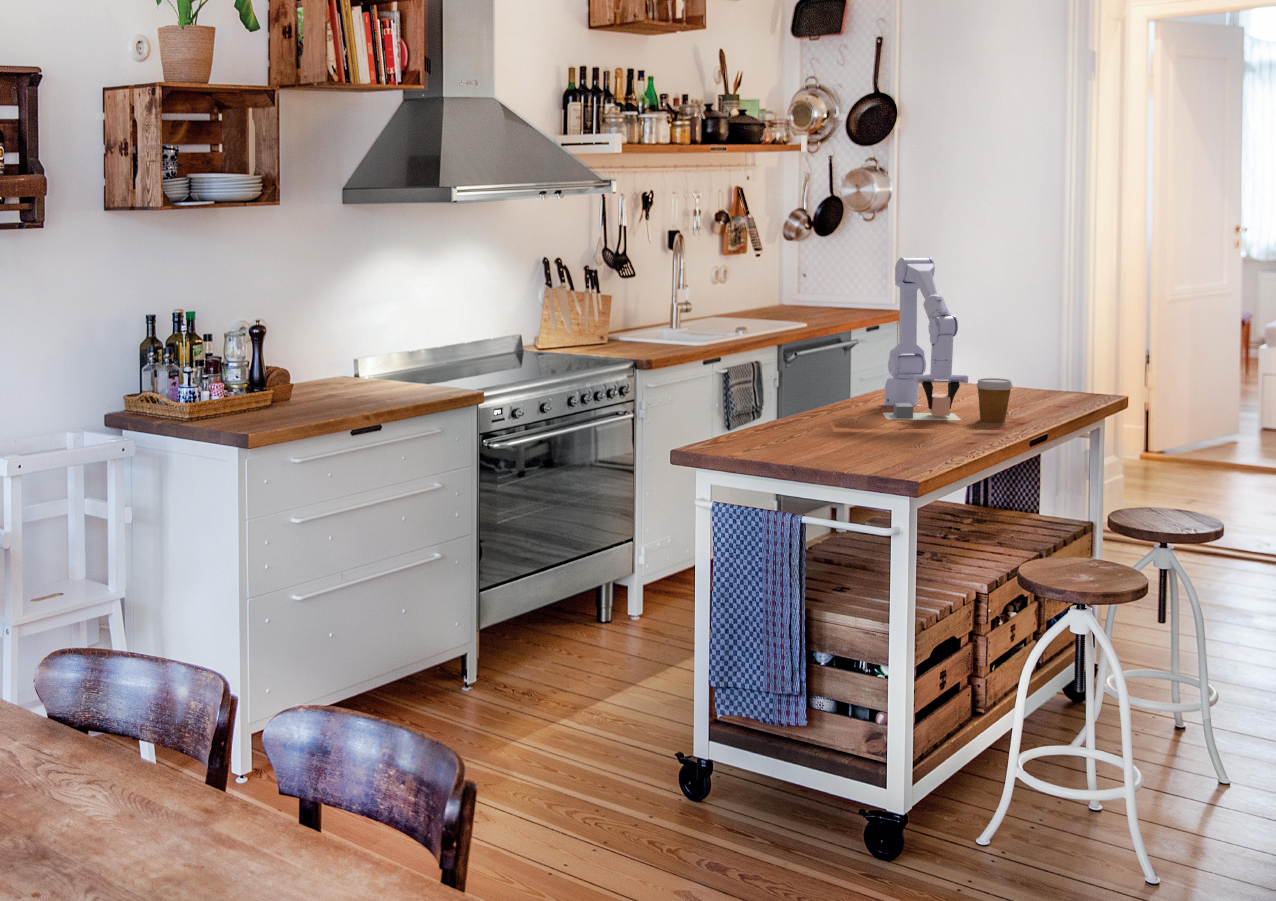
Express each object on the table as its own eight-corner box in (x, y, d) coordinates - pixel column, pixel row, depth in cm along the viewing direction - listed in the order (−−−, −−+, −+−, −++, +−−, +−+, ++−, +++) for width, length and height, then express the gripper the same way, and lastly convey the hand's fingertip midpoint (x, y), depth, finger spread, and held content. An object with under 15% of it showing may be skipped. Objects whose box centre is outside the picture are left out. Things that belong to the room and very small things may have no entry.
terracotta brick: (932, 415, 344) (933, 397, 343) (929, 411, 351) (929, 393, 350) (949, 415, 344) (950, 397, 343) (945, 411, 351) (946, 394, 350)
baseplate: (886, 422, 343) (887, 419, 343) (882, 416, 355) (882, 412, 355) (961, 423, 341) (961, 420, 341) (953, 416, 353) (954, 413, 353)
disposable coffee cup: (1004, 428, 335) (1007, 383, 332) (969, 424, 340) (971, 381, 337) (1014, 423, 343) (1017, 379, 340) (980, 420, 348) (982, 377, 345)
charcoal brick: (896, 418, 345) (896, 406, 344) (893, 414, 352) (893, 402, 351) (912, 418, 345) (913, 406, 344) (909, 414, 352) (910, 402, 351)
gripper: (916, 361, 341) (914, 410, 344) (971, 361, 340) (968, 411, 343) (913, 358, 348) (911, 406, 351) (966, 358, 347) (964, 407, 350)
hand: (939, 408), depth 347 cm, fingers closed on terracotta brick, 4 cm apart
